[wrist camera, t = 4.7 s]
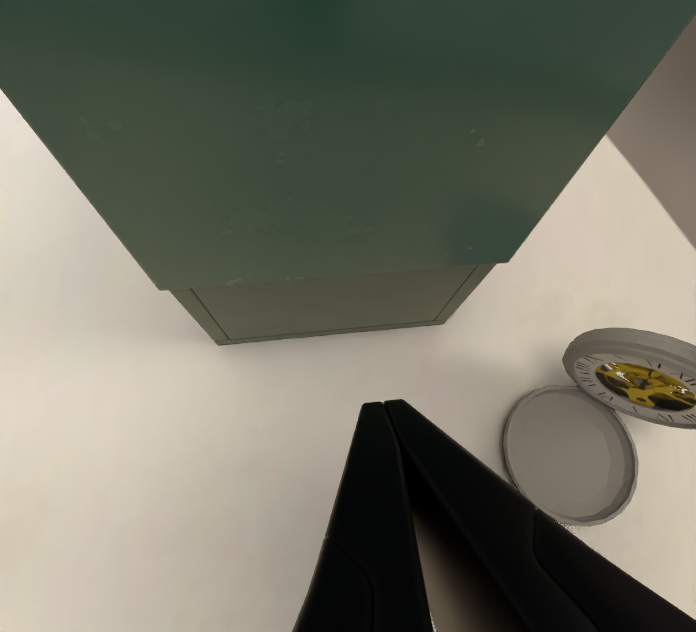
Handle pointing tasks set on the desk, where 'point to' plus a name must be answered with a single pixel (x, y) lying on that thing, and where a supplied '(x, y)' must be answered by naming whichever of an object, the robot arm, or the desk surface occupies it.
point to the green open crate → (330, 303)
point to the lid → (325, 122)
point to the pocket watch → (597, 422)
